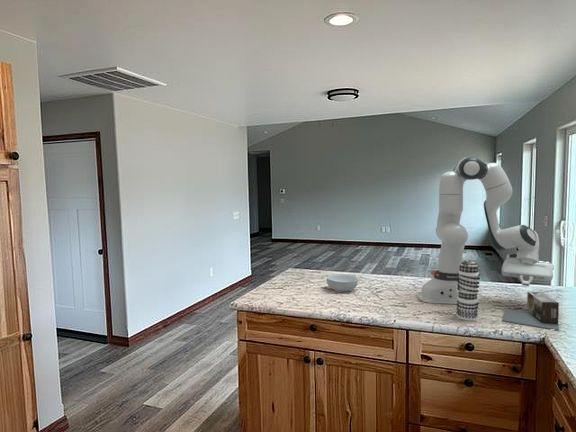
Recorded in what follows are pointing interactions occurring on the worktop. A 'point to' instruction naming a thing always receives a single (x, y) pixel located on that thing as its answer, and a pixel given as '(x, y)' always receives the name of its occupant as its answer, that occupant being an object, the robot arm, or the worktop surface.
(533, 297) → the coffee box
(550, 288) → the worktop surface
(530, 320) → the rubber mat
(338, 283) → the cereal bowl
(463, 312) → the decorative candle
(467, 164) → the robot arm
